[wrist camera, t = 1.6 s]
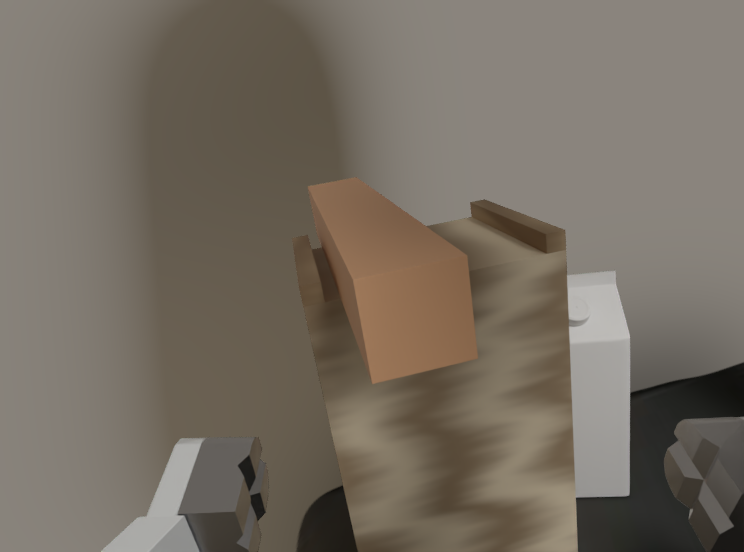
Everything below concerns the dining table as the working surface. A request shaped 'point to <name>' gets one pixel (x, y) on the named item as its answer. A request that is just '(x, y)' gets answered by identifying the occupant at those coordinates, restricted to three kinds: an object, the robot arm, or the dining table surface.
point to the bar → (394, 282)
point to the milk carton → (599, 385)
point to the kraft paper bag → (460, 404)
